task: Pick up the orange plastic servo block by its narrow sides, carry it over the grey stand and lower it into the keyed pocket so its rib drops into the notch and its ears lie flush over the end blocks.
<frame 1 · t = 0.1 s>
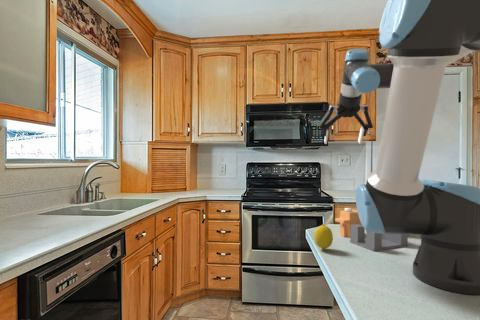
hand: (342, 142, 114), 36 cm above the countertop, tool tilted 35°, fingers open, 13 cm apart
servo block: (351, 235, 104), on the countertop
supplement can: (397, 234, 106), on the countertop
grey stand: (378, 244, 93), on the countertop
lemon: (323, 250, 87), on the countertop
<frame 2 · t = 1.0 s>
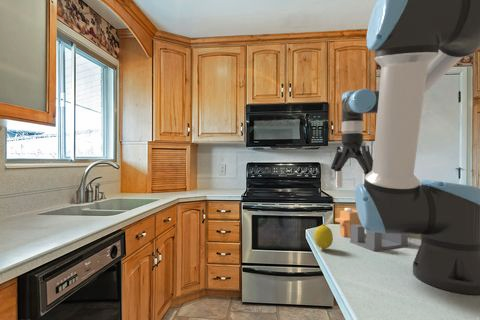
hand: (351, 189, 104), 17 cm above the countertop, tool pointing down, fingers open, 13 cm apart
nothing on the countertop moved.
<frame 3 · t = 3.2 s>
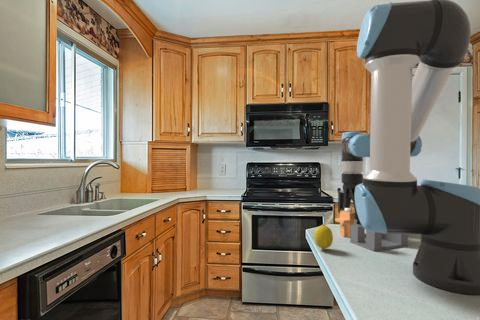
hand: (351, 234, 104), 0 cm above the countertop, tool pointing down, fingers closed on servo block, 5 cm apart
servo block: (351, 235, 104), on the countertop, touching gripper
everything else where it was.
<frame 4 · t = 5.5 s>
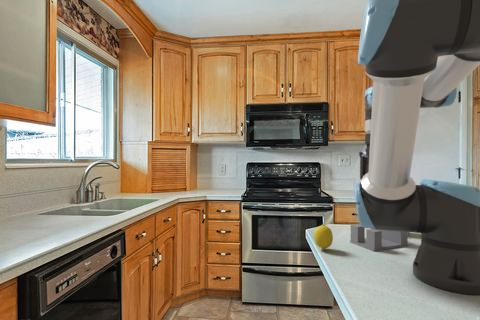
hand: (377, 201, 93), 14 cm above the countertop, tool pointing down, fingers closed on servo block, 5 cm apart
servo block: (377, 202, 93), point 14 cm above the countertop, touching gripper
everything else where it was.
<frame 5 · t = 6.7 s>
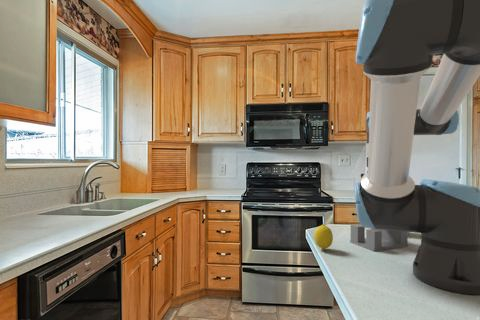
hand: (378, 224, 93), 7 cm above the countertop, tool pointing down, fingers closed on servo block, 5 cm apart
servo block: (378, 225, 93), point 6 cm above the countertop, touching gripper
everything else where it was.
when the fingers open (3 cm above the countertop, at t = 7.7 s): servo block drops 1 cm, resting on grey stand.
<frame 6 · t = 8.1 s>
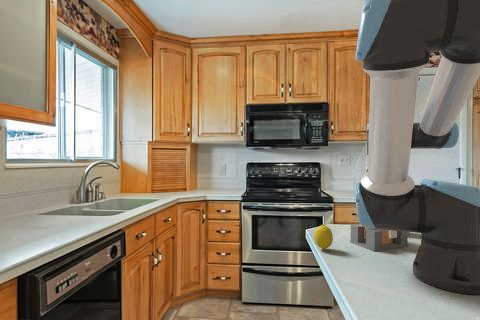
hand: (378, 233, 93), 4 cm above the countertop, tool pointing down, fingers open, 10 cm apart
servo block: (378, 241, 93), point 1 cm above the countertop, touching grey stand
everything else where it was.
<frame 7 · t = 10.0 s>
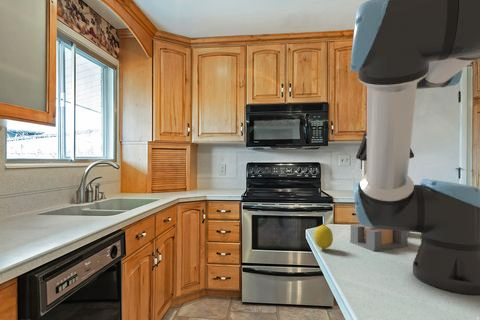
hand: (382, 180, 92), 22 cm above the countertop, tool pointing down, fingers open, 13 cm apart
nothing on the countertop moved.
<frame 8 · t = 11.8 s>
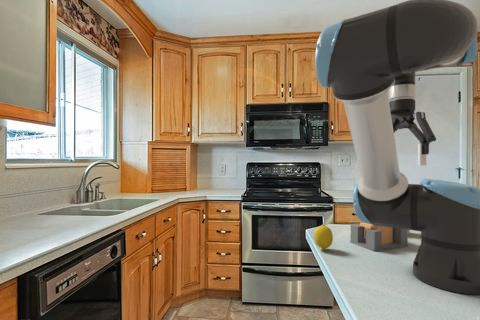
hand: (401, 165, 90), 27 cm above the countertop, tool pointing down, fingers open, 13 cm apart
nothing on the countertop moved.
at the end: servo block 0.0 cm off-centre on the grey stand, point 0.8 cm above the grey stand's base; servo block tilted 0°; the gripper is holding nothing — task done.
